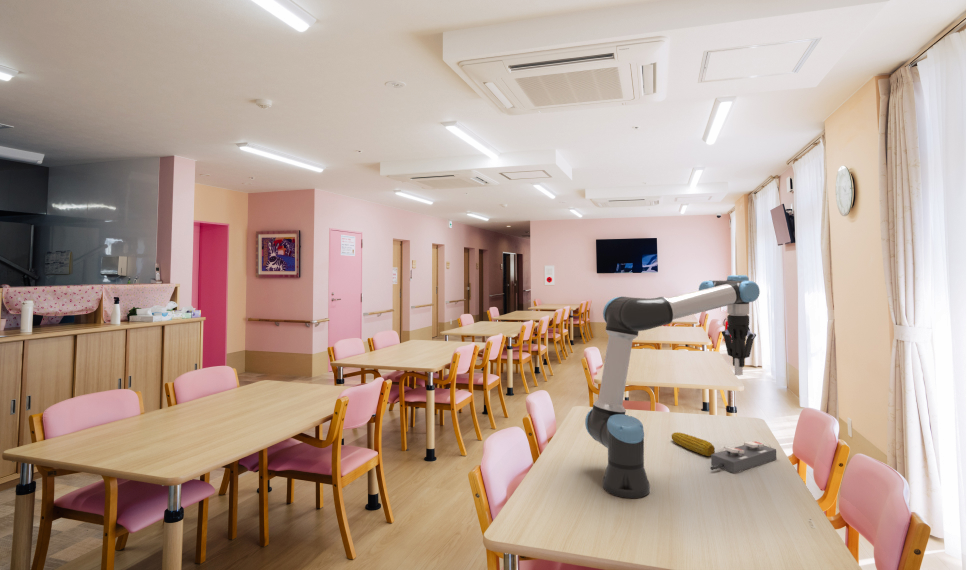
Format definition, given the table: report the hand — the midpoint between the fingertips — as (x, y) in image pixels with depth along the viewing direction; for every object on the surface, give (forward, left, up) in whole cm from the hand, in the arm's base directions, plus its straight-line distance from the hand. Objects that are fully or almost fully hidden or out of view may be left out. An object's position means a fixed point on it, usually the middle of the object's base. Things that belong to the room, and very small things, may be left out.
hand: (738, 374), depth 184 cm
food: (-9, +15, -33) cm, 37 cm away
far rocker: (+3, -4, -27) cm, 27 cm away
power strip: (-6, -4, -32) cm, 33 cm away
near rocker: (-9, -4, -27) cm, 28 cm away
